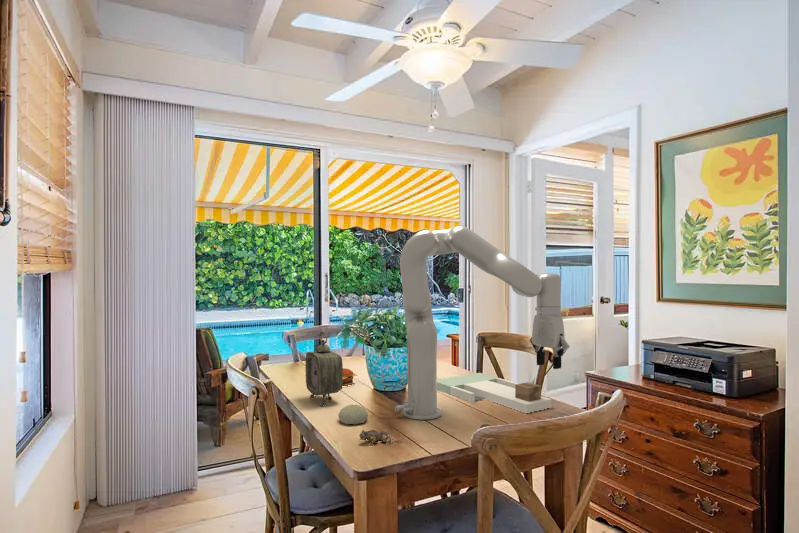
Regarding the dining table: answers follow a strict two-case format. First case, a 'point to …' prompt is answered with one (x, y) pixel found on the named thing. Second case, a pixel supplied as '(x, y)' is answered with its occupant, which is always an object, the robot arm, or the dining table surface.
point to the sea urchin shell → (353, 414)
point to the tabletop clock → (323, 371)
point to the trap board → (490, 391)
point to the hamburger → (347, 377)
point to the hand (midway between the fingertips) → (548, 366)
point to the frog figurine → (375, 436)
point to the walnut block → (528, 391)
